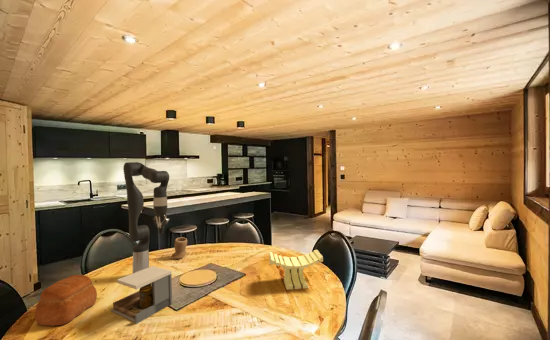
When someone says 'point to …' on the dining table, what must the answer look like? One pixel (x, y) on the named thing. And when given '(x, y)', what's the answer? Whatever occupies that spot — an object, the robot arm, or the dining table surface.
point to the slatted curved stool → (295, 267)
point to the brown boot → (180, 248)
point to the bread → (65, 300)
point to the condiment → (145, 298)
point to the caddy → (127, 304)
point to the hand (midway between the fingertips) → (161, 233)
